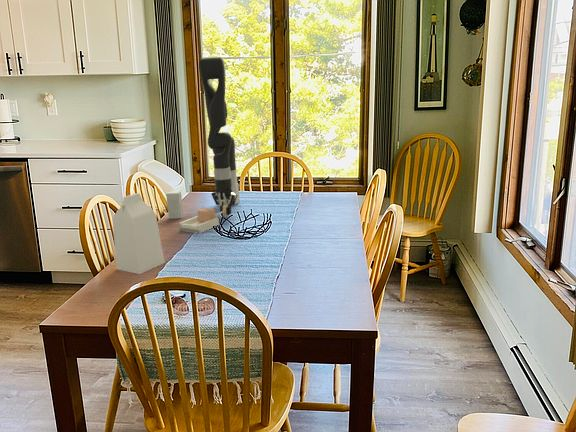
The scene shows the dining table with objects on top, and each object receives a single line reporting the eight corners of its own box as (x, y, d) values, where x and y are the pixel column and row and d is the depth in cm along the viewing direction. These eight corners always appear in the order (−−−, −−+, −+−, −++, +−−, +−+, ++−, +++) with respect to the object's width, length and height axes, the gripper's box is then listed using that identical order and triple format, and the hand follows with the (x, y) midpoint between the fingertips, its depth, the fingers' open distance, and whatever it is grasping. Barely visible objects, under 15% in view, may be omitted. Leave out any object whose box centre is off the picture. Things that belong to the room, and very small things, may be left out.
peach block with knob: (222, 213, 260) (221, 201, 258) (233, 215, 257) (231, 202, 255) (198, 223, 246) (197, 210, 245) (209, 225, 243) (207, 211, 242)
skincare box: (183, 216, 263) (181, 191, 260) (181, 218, 259) (178, 193, 256) (171, 216, 264) (168, 191, 261) (168, 218, 260) (165, 193, 257)
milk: (139, 274, 193) (130, 200, 186) (116, 269, 199) (106, 197, 192) (164, 262, 202) (156, 192, 195) (141, 258, 208) (133, 190, 201)
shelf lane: (200, 222, 251) (199, 215, 250) (219, 225, 245) (218, 217, 244) (180, 230, 240) (179, 222, 239) (199, 233, 235) (199, 225, 234)
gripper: (240, 176, 252) (243, 213, 257) (216, 174, 259) (219, 210, 264) (230, 180, 246) (233, 218, 251) (205, 178, 253) (208, 215, 258)
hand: (225, 214), depth 257 cm, fingers closed on peach block with knob, 2 cm apart
